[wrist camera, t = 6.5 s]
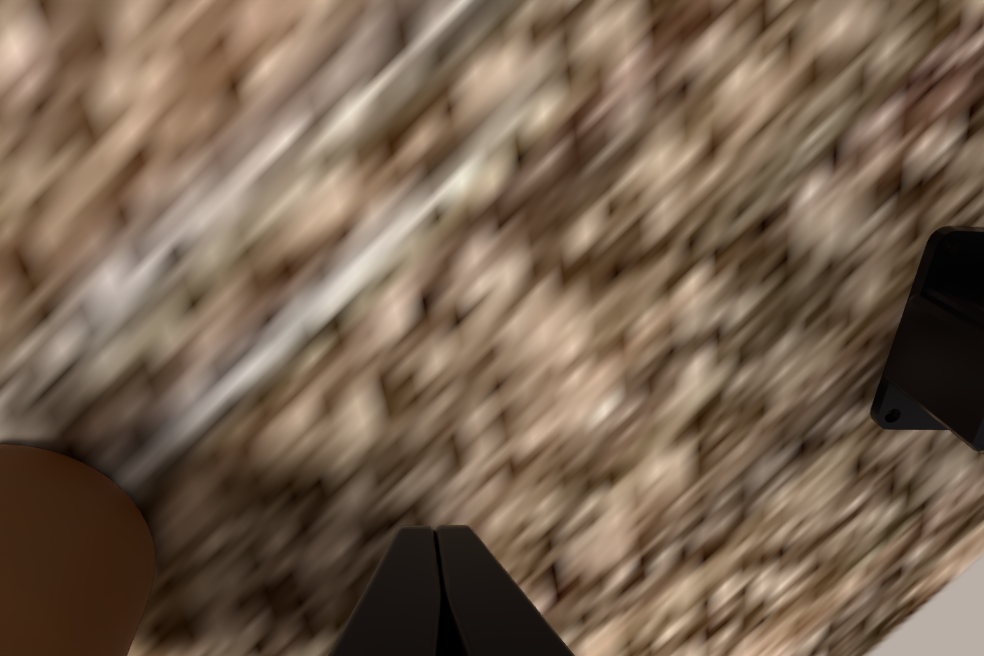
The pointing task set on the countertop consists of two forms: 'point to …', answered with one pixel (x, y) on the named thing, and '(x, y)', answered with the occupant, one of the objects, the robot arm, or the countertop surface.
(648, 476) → the countertop surface
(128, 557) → the mug
